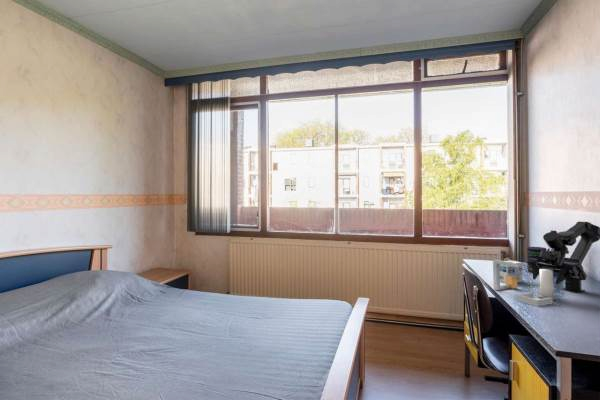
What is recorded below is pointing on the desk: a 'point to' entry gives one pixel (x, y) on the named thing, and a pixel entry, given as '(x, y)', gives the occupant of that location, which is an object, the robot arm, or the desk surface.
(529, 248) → the storage jar
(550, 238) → the robot arm
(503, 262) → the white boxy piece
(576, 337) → the desk surface
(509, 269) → the light bulb box
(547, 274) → the white cylinder
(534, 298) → the gray square tray
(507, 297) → the desk surface
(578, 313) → the desk surface
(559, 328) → the desk surface
